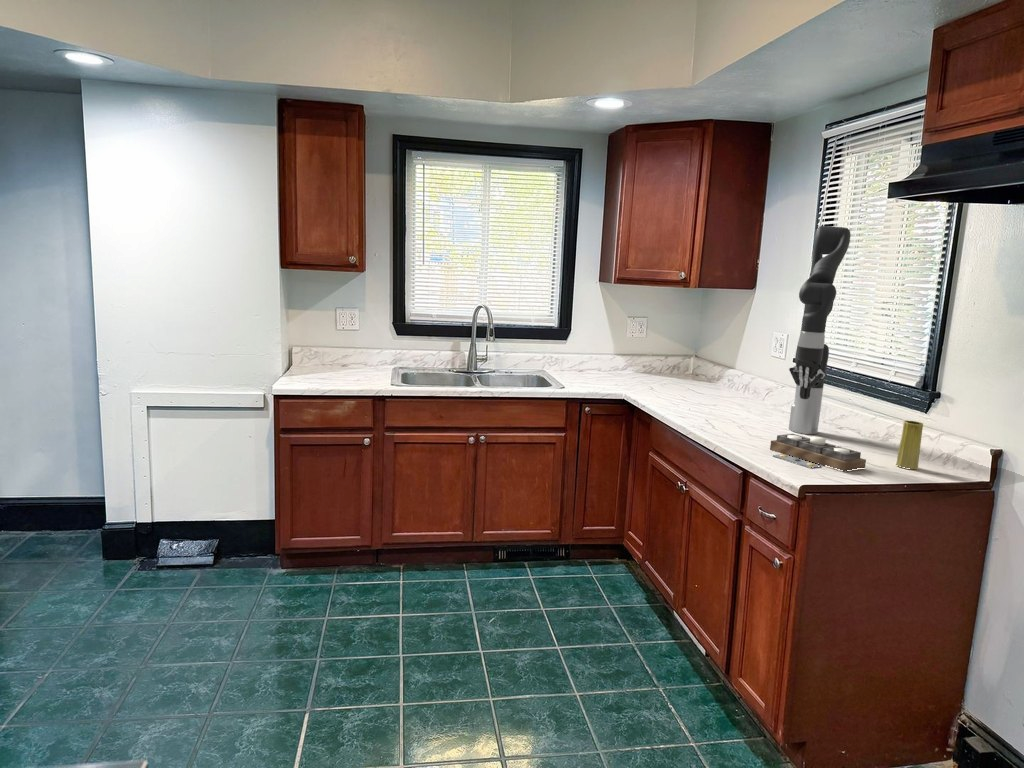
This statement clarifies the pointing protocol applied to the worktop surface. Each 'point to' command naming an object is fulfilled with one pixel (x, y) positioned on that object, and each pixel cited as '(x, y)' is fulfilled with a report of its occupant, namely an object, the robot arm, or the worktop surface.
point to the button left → (794, 437)
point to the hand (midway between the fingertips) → (804, 398)
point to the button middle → (817, 441)
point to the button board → (818, 453)
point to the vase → (910, 445)
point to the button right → (842, 450)
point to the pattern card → (796, 460)
